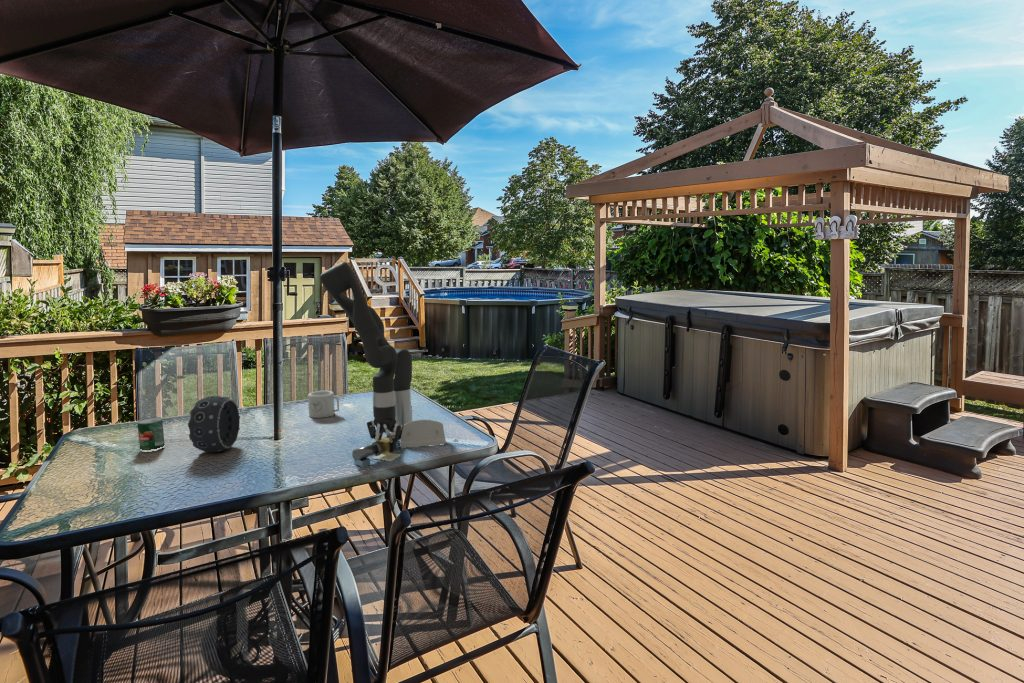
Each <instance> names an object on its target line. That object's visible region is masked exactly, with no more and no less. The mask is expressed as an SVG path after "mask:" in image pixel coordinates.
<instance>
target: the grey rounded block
mask: <svg viewBox="0 0 1024 683" xmlns="http://www.w3.org/2000/svg"><path fill="white" fill-rule="evenodd" d="M445 434H446V433H445V430H444V425H443V422H440V421H437V420H430V419H418V420H412V422H409V423H407V424H404V427H403V431H402V436H401V439H400V440H399V441H400V444H401V445H400V449H407V448H406V447H415V448H419V447H418V446H429V445H440V444H445V445H446V443H447V442H446V441H447V440H446V435H445Z"/></svg>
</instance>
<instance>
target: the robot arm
mask: <svg viewBox="0 0 1024 683" xmlns="http://www.w3.org/2000/svg"><path fill="white" fill-rule="evenodd" d="M319 279H320V282H321V284H322V286H323V287H324V289H325V290H326V292H328V293H329V295H330V297H332V299H333V300H334V301H335V302H336V303H337V304H338V305H339V306H340V308H341V309H342V310H343V311H344V313H345V315H347V317H348V319H350V320H349V321H351V323H352V324H353V327H354V329H355V330H356V332H357V335H358V336H359V339H360V340H361V343H362V347H363V351H364V352H363V353H364V357H365V360H366V362H367V363H368V365H369V366H370V367H372V369H373V368H374V369H379V371H378V372H377V373H376V374H374V375H373V377H372V409H373V411H372V412H373V418H374V419H373V420H370V421H368V422H366V426H367V430H368V433H369V437H370V439H371V440H372V439H373V440H375V442H376V441H378V440H380V439H382V438H383V435H384V433H385V435H386V436H387V437H389V440H390V453H395V452H396V450H397V449H396V442H397V441H401V436H402V431H403V427H404V424H407V423H409V422H412V421H413V405H412V398H411V396H412V394H411V393H412V392H411V384H412V378H413V357H412V353H411V352H410V351H409V350H407V349H405V348H397V347H394V346H392V345H391V344H390V342H388V340H387V339H386V337H385V325H384V322H383V320H382V319H381V317H380V315H379V314H378V313H377V311H376V310H375V309H374V308H373V307H371V306H369V305H368V302H367V300H366V297H365V294H364V292H363V290H362V287H361V285H360V282H359V280H358V278H357V275H356V273H355V271H354V270H353V268H352V267H351V266H350V264H348V262H345V261H342V262H339V263H338V264H336V265H334V266H332V267H330V268H328V269H327V270H324V271H323V272H322V273H321V274H320V275H319ZM350 289H351V291H352V296H353V299H351V298H350V297H348V296H347V295H345V294H344V293H345V292H346V291H348V290H350ZM395 431H396V433H395ZM390 432H391V433H390Z"/></svg>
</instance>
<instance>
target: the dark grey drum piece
mask: <svg viewBox="0 0 1024 683" xmlns="http://www.w3.org/2000/svg"><path fill="white" fill-rule="evenodd" d="M234 400H235V399H231V398H230V397H229V396H222V395H212V396H211V395H210V396H206V397H203V398H201V399H199V400H198V401H196V402H195V403H194V405H193V408H192V409H191V410H190V412H189V415H190V418H189V421H188V422H187V427H188V429H189V435H188V437H189V440H190V441H191V442H192V446H193V447H194V448H196V449H197V450H199V451H202V452H205V453H206V452H207V453H219V452H222V451H224V450H225V451H227V450H228V449H230V448H232V447H233V445H234V444H235V442H236V441H238V436H239V431H240V430H241V428H240V422H241V421H240V419H241V415H240V412H239V406H238V405H237V404H236V402H235V401H234Z"/></svg>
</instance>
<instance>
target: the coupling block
mask: <svg viewBox="0 0 1024 683" xmlns="http://www.w3.org/2000/svg"><path fill="white" fill-rule="evenodd" d="M375 442H378V443H379V444H380V446H381V449H382V452H381V454H382V455H389V454H391V453H390V440H389V438H385V436H384V437H382V439H380V440H378V441H376V440H375Z"/></svg>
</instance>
